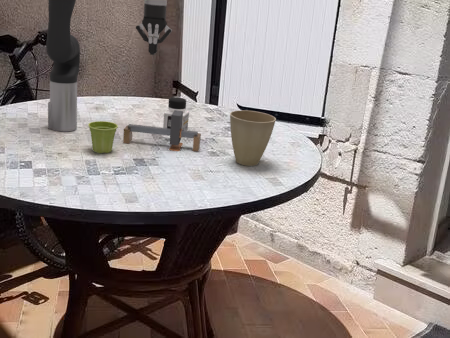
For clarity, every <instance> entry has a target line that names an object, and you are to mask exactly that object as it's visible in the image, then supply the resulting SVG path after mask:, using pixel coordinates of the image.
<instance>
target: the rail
mask: <svg viewBox="0 0 450 338" xmlns="http://www.w3.org/2000/svg"><path fill="white" fill-rule="evenodd" d="M133 133H142V134H149V135H150V134H151V135H159V136H169V137H170V129H169V128H163V127H158V126H152V125H151V126H150V125H143V124H142V125H140V124H131V123H129V124H128V125H127V124H126V126H125V127H124V128H123V140H122V141H123V143H122V144H128V145H129V144H130V143H132V141H133ZM201 136H202V133H199V131H195V130H182V129H180V136H179V138H181V139H182V138H186V139H188V138H189V139H192V140H193V143H192V151H193V152H199V151H200V147H201ZM183 144H184V143H183V142H180V143H179V145H171V146H170V147H169V151H176V152H180V151H181V148H183Z"/></svg>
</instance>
